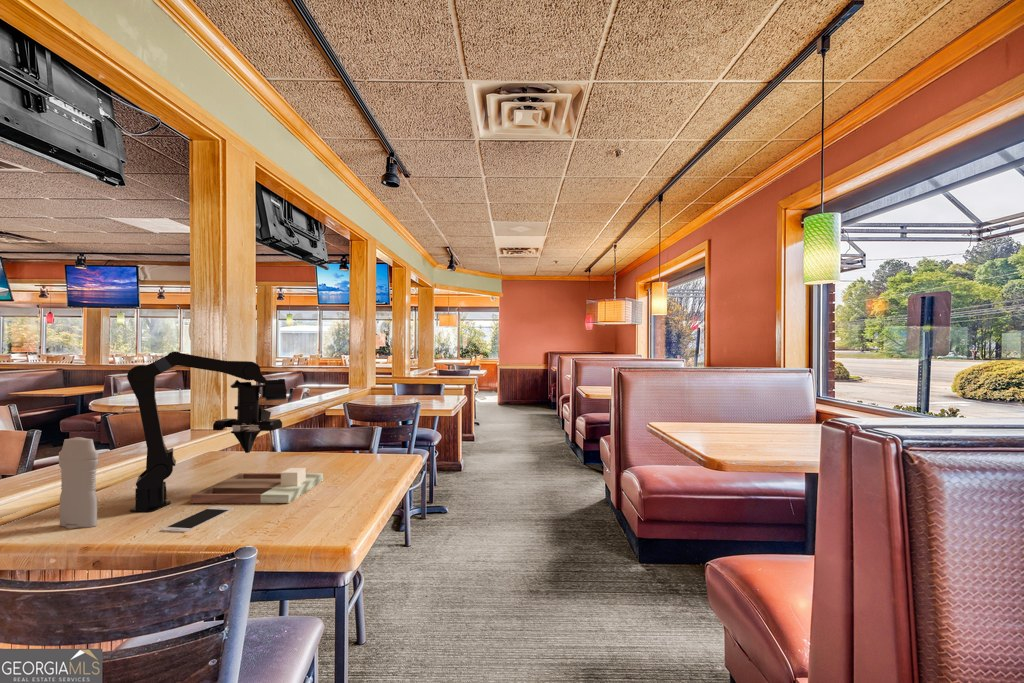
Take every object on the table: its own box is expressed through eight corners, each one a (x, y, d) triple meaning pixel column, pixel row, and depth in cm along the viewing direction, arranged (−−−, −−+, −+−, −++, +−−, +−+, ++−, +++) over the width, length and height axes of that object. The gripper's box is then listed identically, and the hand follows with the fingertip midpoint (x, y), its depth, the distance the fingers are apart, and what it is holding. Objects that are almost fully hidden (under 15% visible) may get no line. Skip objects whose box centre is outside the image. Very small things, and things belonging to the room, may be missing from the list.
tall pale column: (50, 528, 107) (50, 438, 107) (68, 521, 111) (68, 435, 111) (88, 529, 106) (88, 439, 106) (105, 522, 110) (105, 435, 110)
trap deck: (288, 503, 122) (288, 494, 122) (191, 503, 123) (191, 494, 123) (323, 480, 143) (323, 473, 143) (239, 480, 144) (239, 473, 144)
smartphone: (235, 510, 119) (235, 506, 119) (186, 534, 104) (186, 530, 104) (212, 509, 120) (212, 505, 120) (159, 533, 105) (159, 529, 105)
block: (297, 486, 130) (297, 472, 130) (280, 486, 130) (280, 472, 130) (305, 480, 135) (305, 467, 135) (289, 480, 135) (289, 467, 135)
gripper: (292, 399, 142) (291, 447, 142) (236, 398, 143) (236, 446, 143) (271, 403, 131) (271, 455, 131) (211, 402, 132) (211, 454, 132)
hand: (247, 452), depth 134 cm, fingers closed
